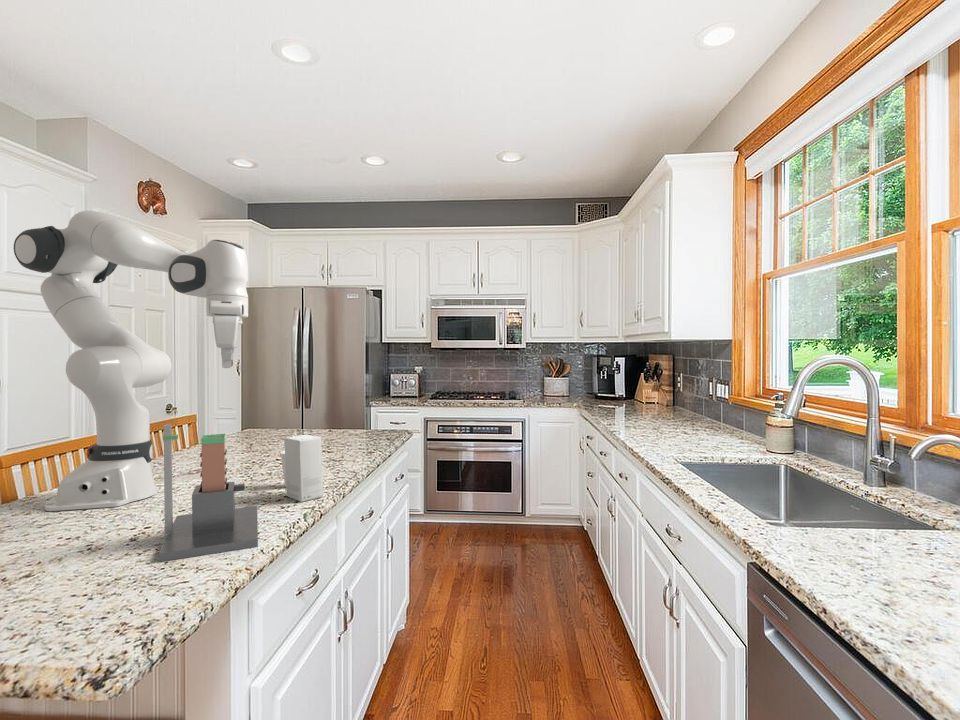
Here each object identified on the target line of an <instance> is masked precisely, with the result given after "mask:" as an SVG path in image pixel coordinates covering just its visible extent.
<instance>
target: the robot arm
mask: <svg viewBox="0 0 960 720" xmlns="http://www.w3.org/2000/svg"><path fill="white" fill-rule="evenodd" d="M13 253H14V256H15V259H16V260H17V261H18V263H19V264H20V265H21V266H22V267H23V268H25V269H27V270H30V271H33V272H37V273H43V274H44V273H47V274H48V273H50V274H51V275H50V276H48V277H47V278H45V279H44V280H43V281H42V283H41V285H40V293H41V296H42V299H43V301H44V303H45V305H46V307H47V310H48V311H49V312H50V314H51V315H52V317H53V318H54V320H55V321H56V323H58V325H59V326H60V328H61V329H62V330H63V332H64V333H65V334H66V336H67V337H68V338H69V340H70V341H71V342H72V343H73V344H74V345H75V346H77V347H79V348H81V349H78V350H76V351H74V352H73V353H71V354H70V356H69V357H68V359H67V361H66V364H65V374H66V377H67V379H68V381H69V382H70V383H71V384H72V385H73V386H74V387H76V388H77V389H79V390H80V392H82V393H83V394H85V396H86V397H87V399H88V401H89V403H91V407H92V409H93V411H94V416H95V427H96V442H95V443H93V444H91V445H89V447H88V448H87V449H86V450H85V451H86V453H85V455H86V458H87V459H88V460H86V461H84V463H81V465H79V466H78V467H76V468H75V469H74V470H72V471H70V472H69V473H68V474H66V476H64V477H63V478H62V480H61V481H60V482H59V484H58V487H57V492H56V496H54V497H52V498H51V499H49V500H48V501H47V502H46V503H45V504H44V510H45V511H46V512H58V511H71V510H86V509H98V508H99V509H101V508H103V509H104V508H115V507H121V506H124V505H126V504H129V503H132V502H136V501H139V500H144V499H147V498H149V497H153V496H154V495H157V493H158V492H159V490H158V487H157V485H156V482H155V478H154V473H153V468H152V465H153V464H152V460H153V458H154V457H153V455H154V453H153V448H154V447H153V446H154V445H153V440H152V439H151V435H150V434H151V430H150V429H151V425H150V423H151V422H150V420H151V419H150V417H151V416H150V411H149V409H148V408H147V407H146V406H145V405H142V404H140V403H139V402H138V400H137V399H136V397H135V394H134V391H133V389H136V388H146V387H151V386H154V385H156V384H157V385H158V384H159V383H163V382H164V381H166V380H167V379H168V378H169V376H170V375H171V371H172V360H171V359H170V356H169V355H168V354H167V353H166V352H165V351H163V350H161V349H159V348H156V347H154V346H152V345H150V344H149V343H147V342H145V341H144V340H143V339H141V338H140V337H139V336H137V335H136V334H135V333H133V332H132V331H131V330H130V329H128V328H127V327H126V326H125V325H123V323H122V322H120V320H119V319H118V318H117V317H116V315H114V313H113V312H112V310H111V309H110V308H109V307H108V305H107V304H106V303H105V302H104V301H103V299H102V297H100V295H99V294H98V293H97V291H96V290H95V288H94V285H93V284H100V283H103V282H105V281H106V278H108V277H109V276H110V275H111V274H113V272H114V271H115V269H117V267H118V265H119V266H123V267H126V268H127V267H129V268H135V269H140V270H141V269H143V270H148V271H149V270H151V271H158V272H165V273H167V275H168V276H167V277H168V282H169V283H170V286H171V287H172V288H173V290H175V291H176V292H178V293H181V294H183V295H187V296H193V297H198V298H204V299H206V316H207V317H212V324H213V333H214V340H215V345H216V348H218V349H220V355H221V367H222V368H223V369H230V368H231V367H233V366H234V357H235V356H234V355H235V349H237V348H238V346H239V345H238V343H239V341H238V338H239V335H238V331H239V330H238V327H239V325H243V324H244V323H243V319H246V318H248V317H249V294H248V291H247V285H248V282H249V263H248V256H247V252H246V250H245V248H244V247H243V246H242V245H240V244H238V243H235V242H231V241H227V240H223V239H210V240H209V241H208V242H207V244H206V245H205V246H203V247H201V248H200V249H198V250H196V251H194V252H191V253H188V252H185V251H182V250H181V249H178V248H176V247H174V246H172V245H170V244H168V243H167V242H165V241H164V240H161V239H160V238H158V237H156V236H154V235H152V234H150V233H149V232H147V231H146V230H143V229H142V228H140V227H138V226H136V225H134V224H133V223H131V222H128V221H126V220H124V219H121V217H120V218H119V217H117V216H114V215H111V214H108V213H104V212H100V211H93V210H82V211H79V212H77V213H75V214H74V215H73V216H72V217H71V218H70V220H69V221H68V226H67V227H65V228H60V229H59V228H57V227H55V226H53V225H47V226H44V227H39V228H38V227H37V228H31V229H26V230H24V231H21V232H20V233H19V234H18V235H17V237H16V238H15V239H14V241H13Z"/></svg>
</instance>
